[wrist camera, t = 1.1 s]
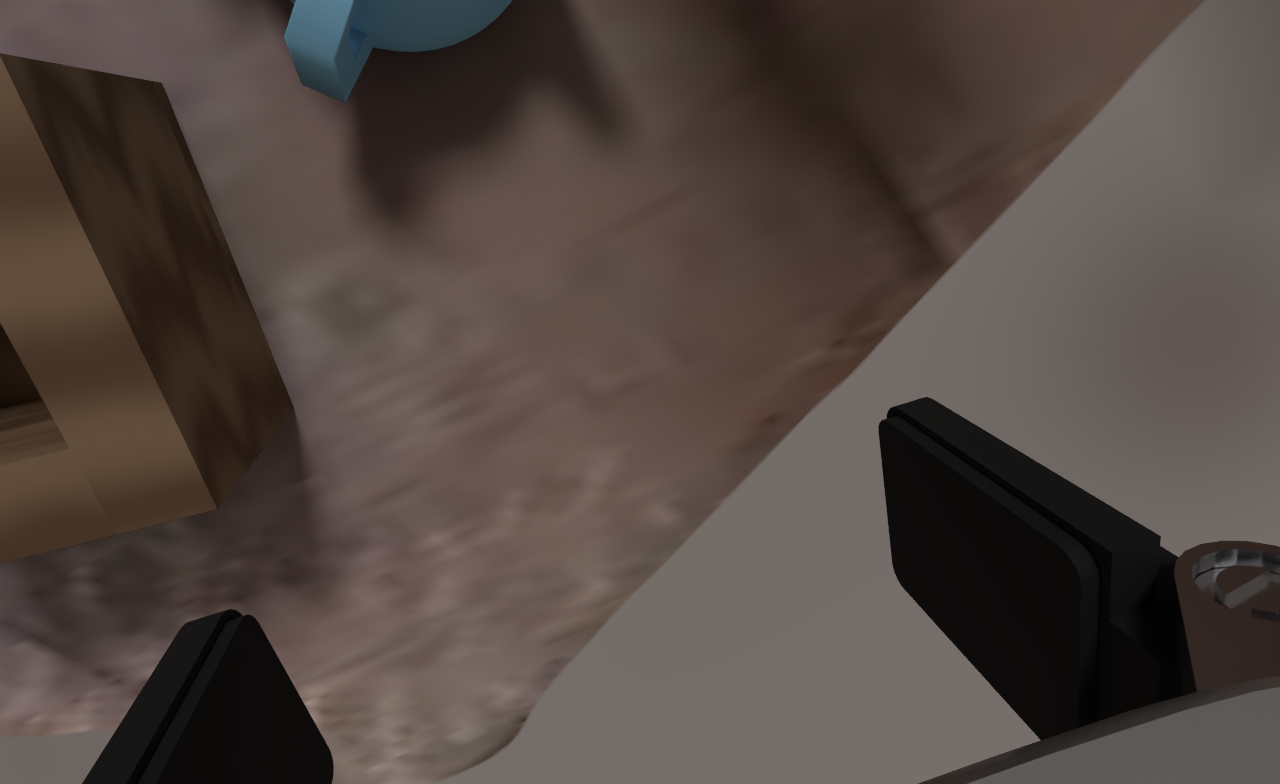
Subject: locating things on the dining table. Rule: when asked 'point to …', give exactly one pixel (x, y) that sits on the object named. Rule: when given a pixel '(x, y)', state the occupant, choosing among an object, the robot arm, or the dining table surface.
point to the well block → (115, 318)
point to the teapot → (375, 34)
